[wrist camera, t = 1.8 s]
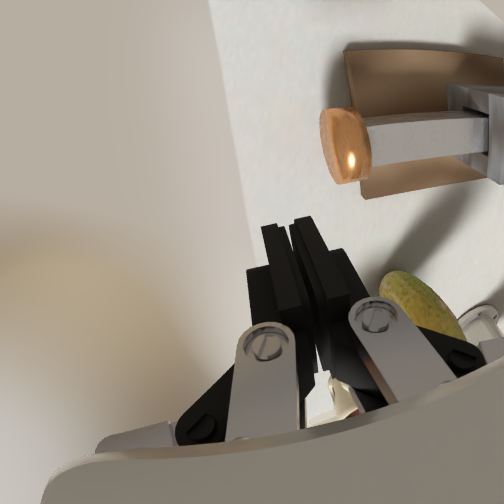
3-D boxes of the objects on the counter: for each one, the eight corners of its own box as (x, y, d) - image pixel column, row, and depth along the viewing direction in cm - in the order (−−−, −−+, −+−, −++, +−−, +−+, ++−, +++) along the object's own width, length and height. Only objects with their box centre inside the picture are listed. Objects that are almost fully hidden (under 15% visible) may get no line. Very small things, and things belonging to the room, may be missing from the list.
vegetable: (370, 258, 34) (454, 411, 17) (417, 246, 34) (514, 379, 17) (369, 298, 37) (434, 440, 20) (413, 286, 37) (489, 414, 20)
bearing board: (496, 171, 29) (547, 205, 21) (361, 194, 30) (403, 242, 22) (495, 57, 21) (556, 69, 13) (343, 51, 22) (392, 47, 15)
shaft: (468, 149, 25) (505, 169, 20) (325, 170, 26) (347, 196, 21) (467, 94, 22) (507, 106, 17) (315, 105, 23) (338, 115, 18)
